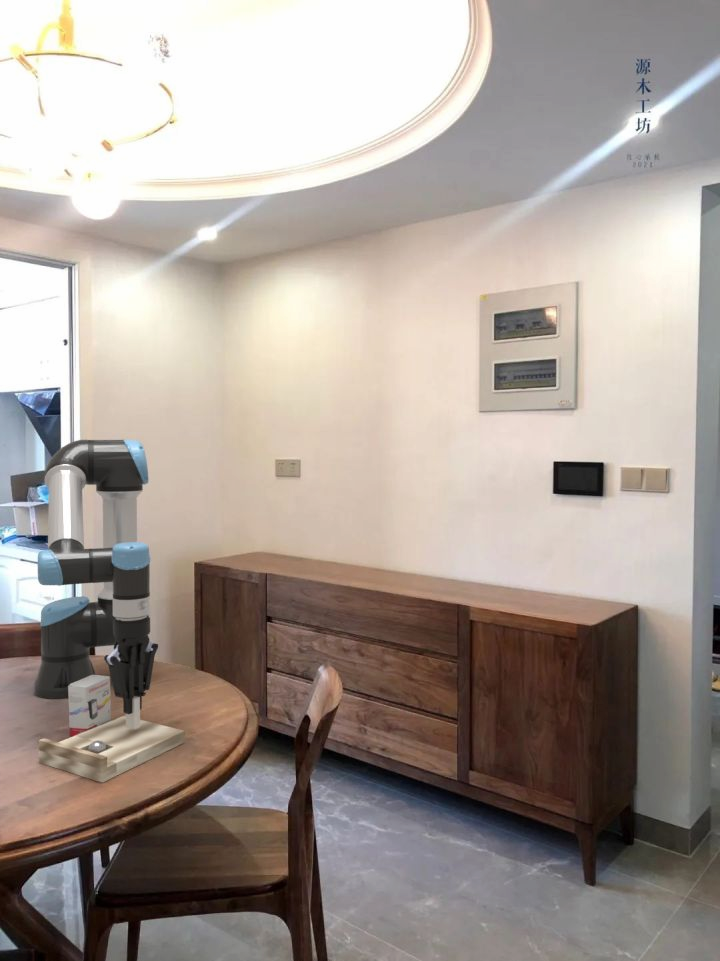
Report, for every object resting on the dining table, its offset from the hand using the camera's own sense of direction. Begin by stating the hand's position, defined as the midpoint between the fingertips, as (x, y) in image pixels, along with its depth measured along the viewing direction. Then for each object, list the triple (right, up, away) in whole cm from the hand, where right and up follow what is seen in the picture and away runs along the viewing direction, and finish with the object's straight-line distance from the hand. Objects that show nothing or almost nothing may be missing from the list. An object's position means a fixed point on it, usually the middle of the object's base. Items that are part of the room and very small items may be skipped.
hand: (132, 726), depth 157 cm
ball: (-5, -2, -8) cm, 10 cm away
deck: (-2, -4, -5) cm, 6 cm away
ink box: (-11, -4, +6) cm, 13 cm away
